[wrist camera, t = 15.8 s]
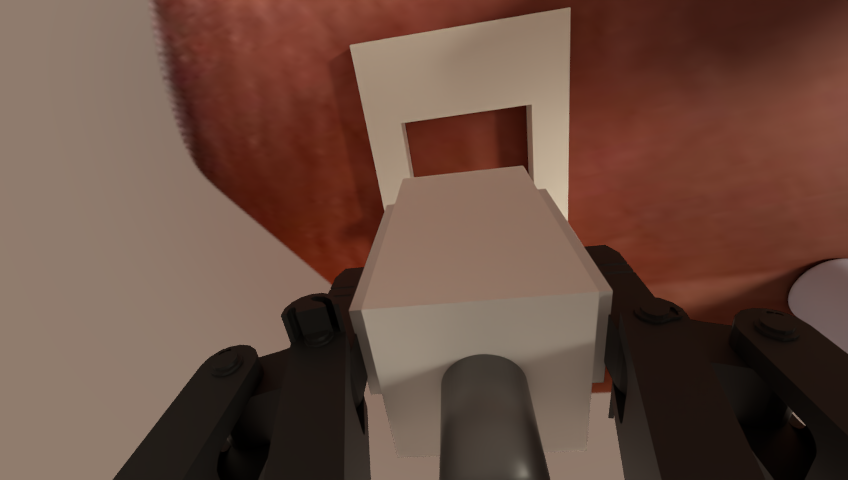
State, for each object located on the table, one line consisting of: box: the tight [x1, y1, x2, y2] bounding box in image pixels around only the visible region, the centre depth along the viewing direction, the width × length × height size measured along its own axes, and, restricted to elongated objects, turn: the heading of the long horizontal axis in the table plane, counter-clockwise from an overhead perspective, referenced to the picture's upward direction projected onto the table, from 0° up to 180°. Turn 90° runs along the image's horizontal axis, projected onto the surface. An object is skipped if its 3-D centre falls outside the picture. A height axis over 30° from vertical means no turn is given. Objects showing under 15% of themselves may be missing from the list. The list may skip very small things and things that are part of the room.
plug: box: [361, 166, 599, 480], centre depth 11 cm, size 4×4×10 cm
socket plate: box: [350, 7, 571, 222], centre depth 28 cm, size 19×13×2 cm
